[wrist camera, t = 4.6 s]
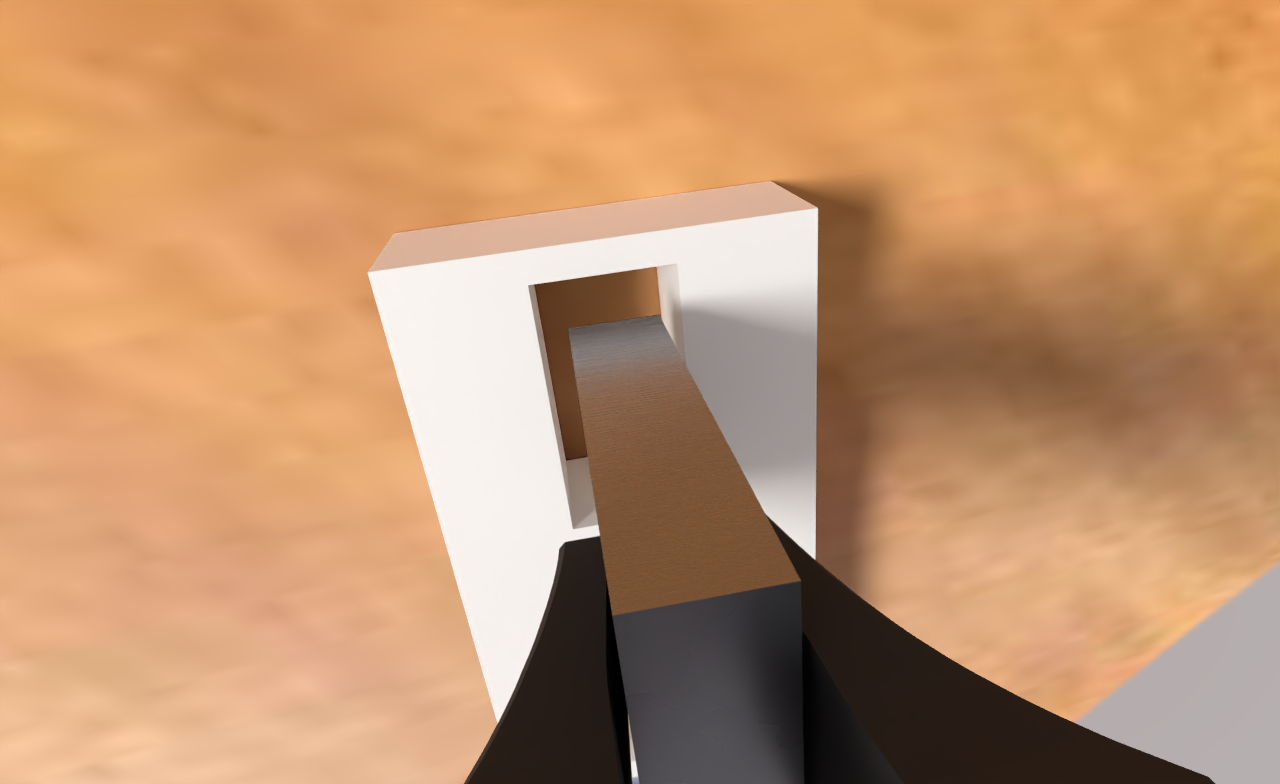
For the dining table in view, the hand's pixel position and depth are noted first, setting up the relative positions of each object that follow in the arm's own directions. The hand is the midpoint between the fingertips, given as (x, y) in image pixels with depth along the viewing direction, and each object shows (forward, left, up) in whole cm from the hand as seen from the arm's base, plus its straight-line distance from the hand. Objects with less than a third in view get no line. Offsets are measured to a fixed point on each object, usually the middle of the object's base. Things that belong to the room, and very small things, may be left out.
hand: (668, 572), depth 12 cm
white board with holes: (-5, 0, -10) cm, 11 cm away
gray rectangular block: (0, 0, -5) cm, 5 cm away
